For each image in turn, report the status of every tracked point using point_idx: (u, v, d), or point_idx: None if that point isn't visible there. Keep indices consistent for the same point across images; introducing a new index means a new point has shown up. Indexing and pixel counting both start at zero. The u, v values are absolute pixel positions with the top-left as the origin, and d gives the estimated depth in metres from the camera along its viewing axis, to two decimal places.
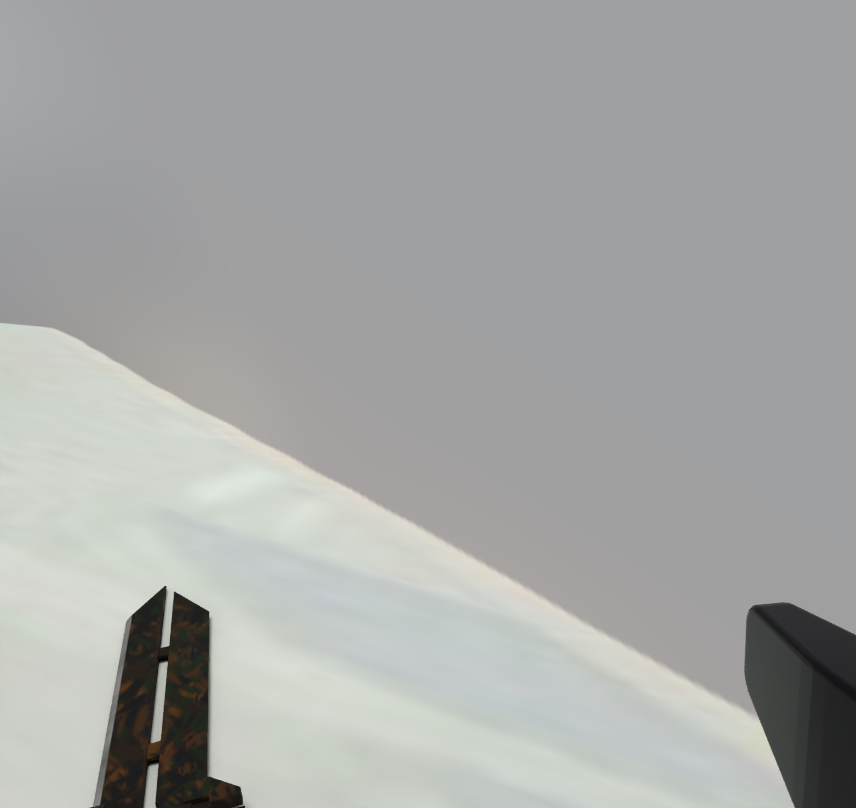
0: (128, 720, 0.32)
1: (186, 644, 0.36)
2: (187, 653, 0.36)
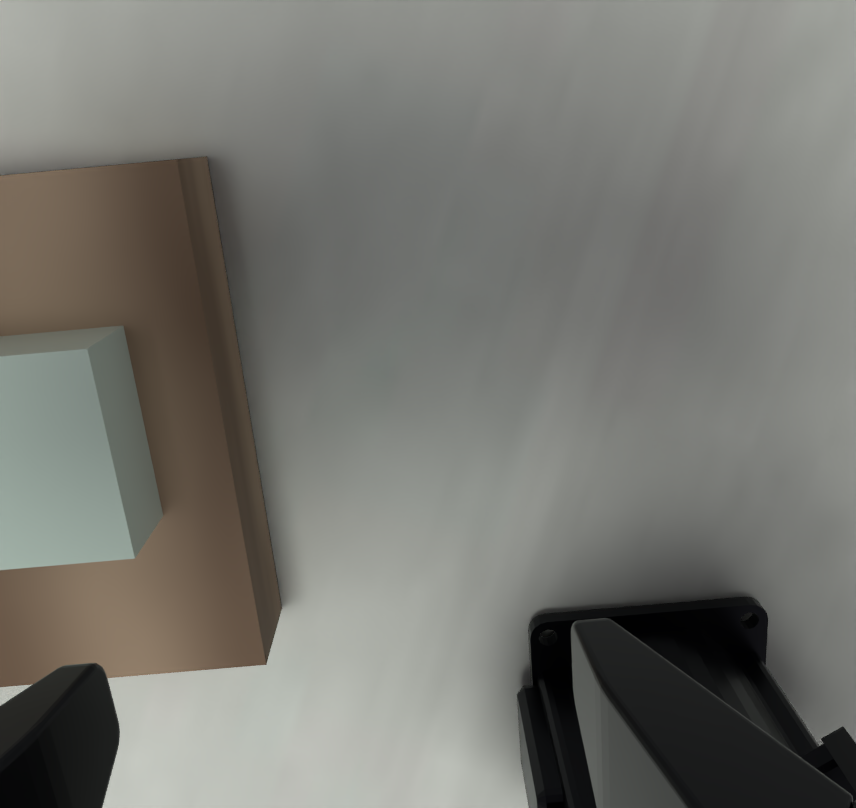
0: None
1: None
2: None
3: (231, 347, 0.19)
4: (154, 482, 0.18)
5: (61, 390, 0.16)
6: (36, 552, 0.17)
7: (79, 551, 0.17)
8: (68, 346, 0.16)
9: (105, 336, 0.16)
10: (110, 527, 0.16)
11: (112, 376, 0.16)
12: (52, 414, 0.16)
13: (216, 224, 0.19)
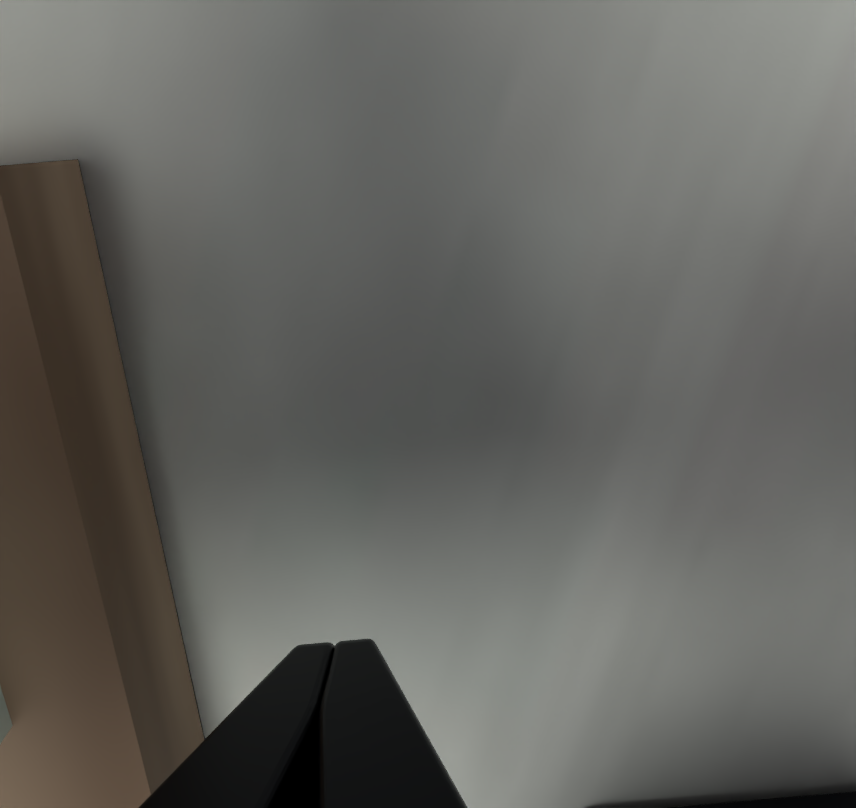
0: None
1: None
2: None
3: (124, 454, 0.12)
4: None
5: None
6: None
7: None
8: None
9: None
10: None
11: None
12: None
13: (97, 265, 0.12)
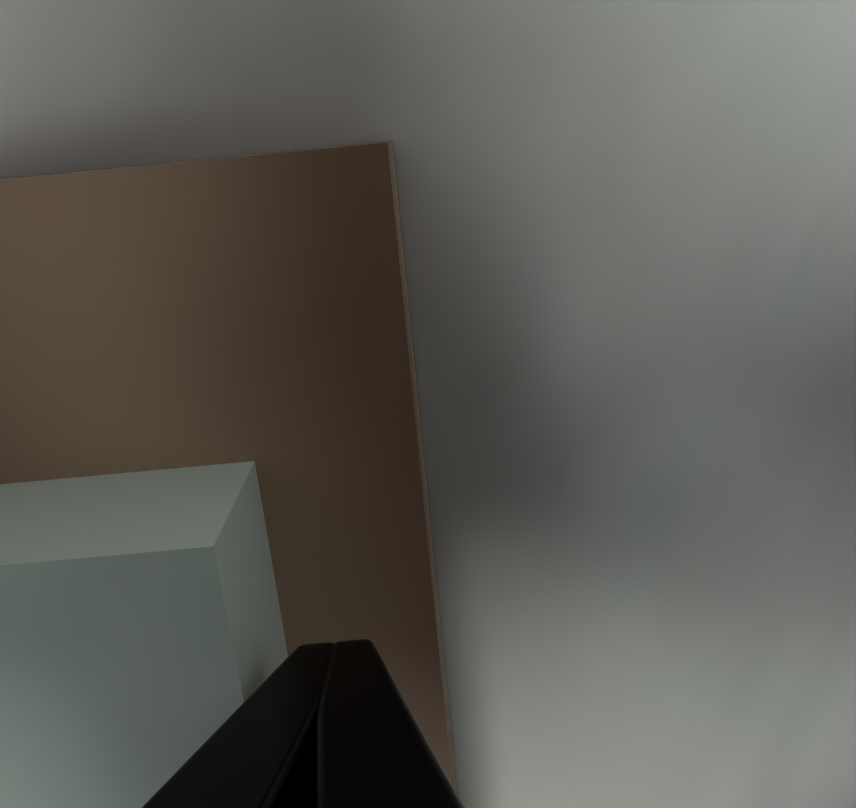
0: None
1: None
2: None
3: (423, 470, 0.11)
4: None
5: (155, 626, 0.07)
6: None
7: None
8: (168, 534, 0.08)
9: (234, 498, 0.08)
10: None
11: (247, 575, 0.08)
12: (134, 671, 0.08)
13: (403, 260, 0.11)
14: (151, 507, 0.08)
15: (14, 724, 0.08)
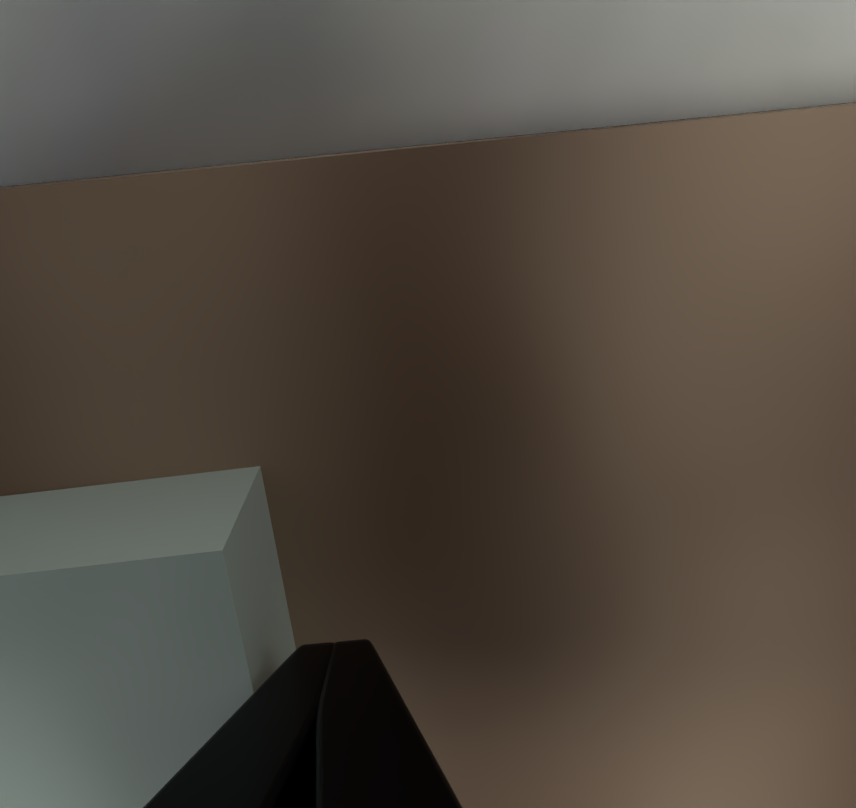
0: None
1: None
2: None
3: None
4: None
5: (167, 631, 0.08)
6: None
7: None
8: (178, 539, 0.08)
9: (241, 502, 0.08)
10: None
11: (256, 578, 0.08)
12: (147, 674, 0.08)
13: None
14: (160, 513, 0.08)
15: (30, 729, 0.08)
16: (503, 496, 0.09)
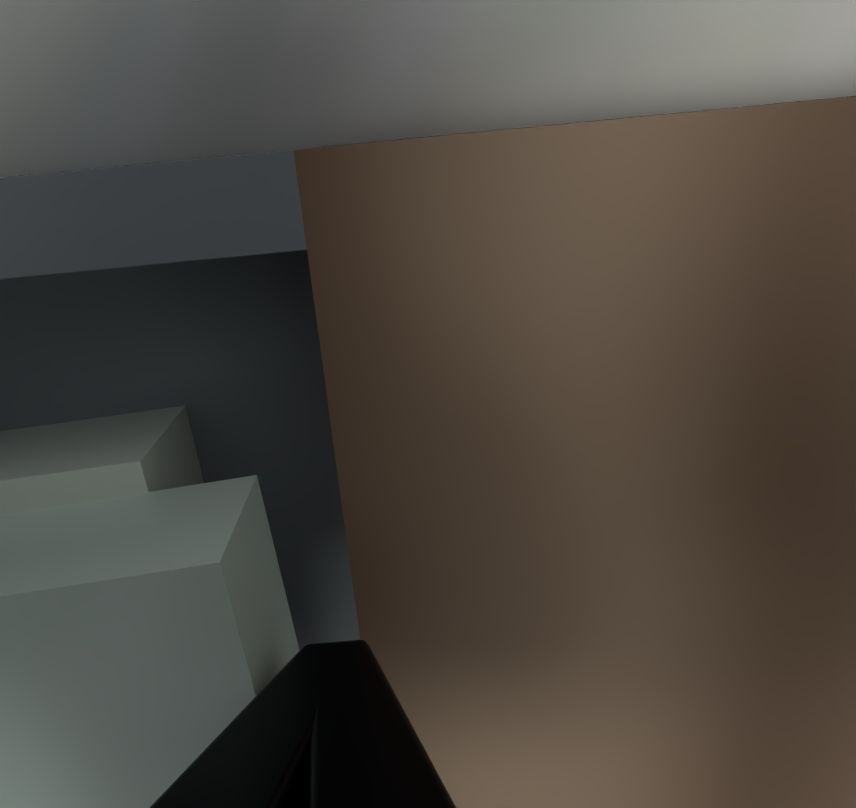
0: None
1: None
2: None
3: None
4: None
5: (169, 644, 0.08)
6: None
7: None
8: (175, 553, 0.08)
9: (238, 513, 0.08)
10: None
11: (255, 588, 0.08)
12: (151, 689, 0.08)
13: None
14: (157, 527, 0.08)
15: (36, 747, 0.08)
16: (855, 456, 0.09)
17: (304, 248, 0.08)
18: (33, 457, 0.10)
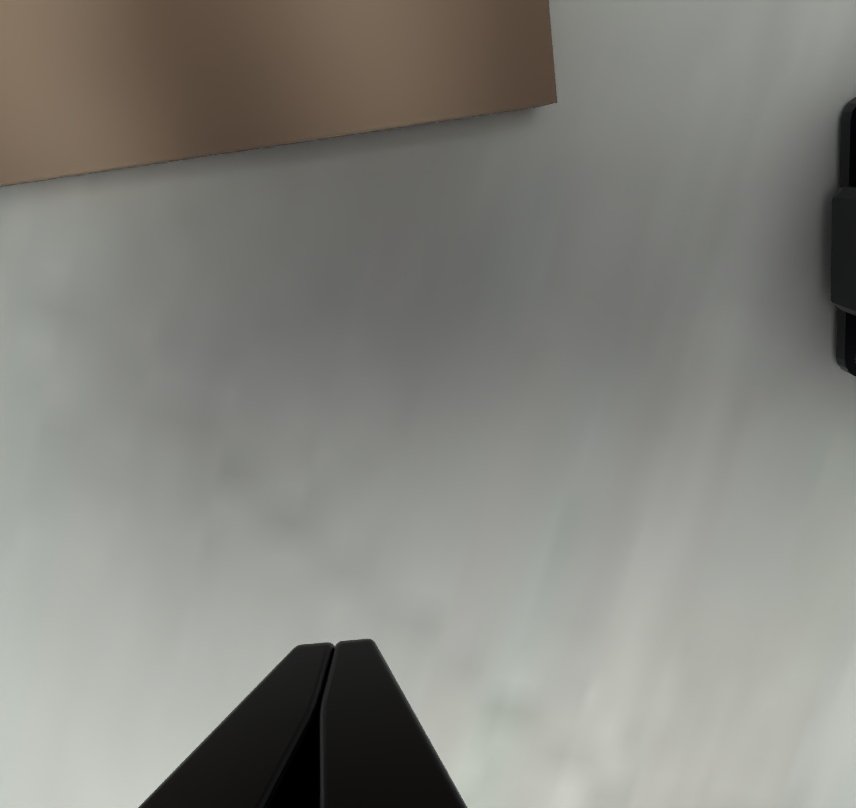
0: None
1: None
2: None
3: None
4: None
5: None
6: None
7: None
8: None
9: None
10: None
11: None
12: None
13: None
14: None
15: None
16: None
17: None
18: None
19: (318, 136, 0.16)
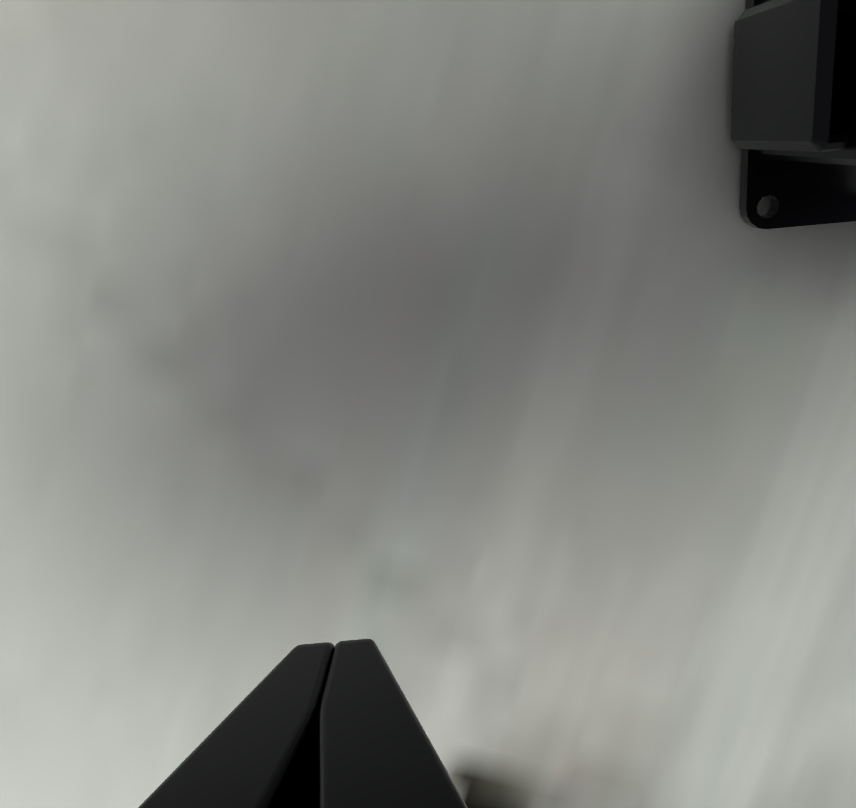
0: None
1: None
2: None
3: None
4: None
5: None
6: None
7: None
8: None
9: None
10: None
11: None
12: None
13: None
14: None
15: None
16: None
17: None
18: None
19: None
